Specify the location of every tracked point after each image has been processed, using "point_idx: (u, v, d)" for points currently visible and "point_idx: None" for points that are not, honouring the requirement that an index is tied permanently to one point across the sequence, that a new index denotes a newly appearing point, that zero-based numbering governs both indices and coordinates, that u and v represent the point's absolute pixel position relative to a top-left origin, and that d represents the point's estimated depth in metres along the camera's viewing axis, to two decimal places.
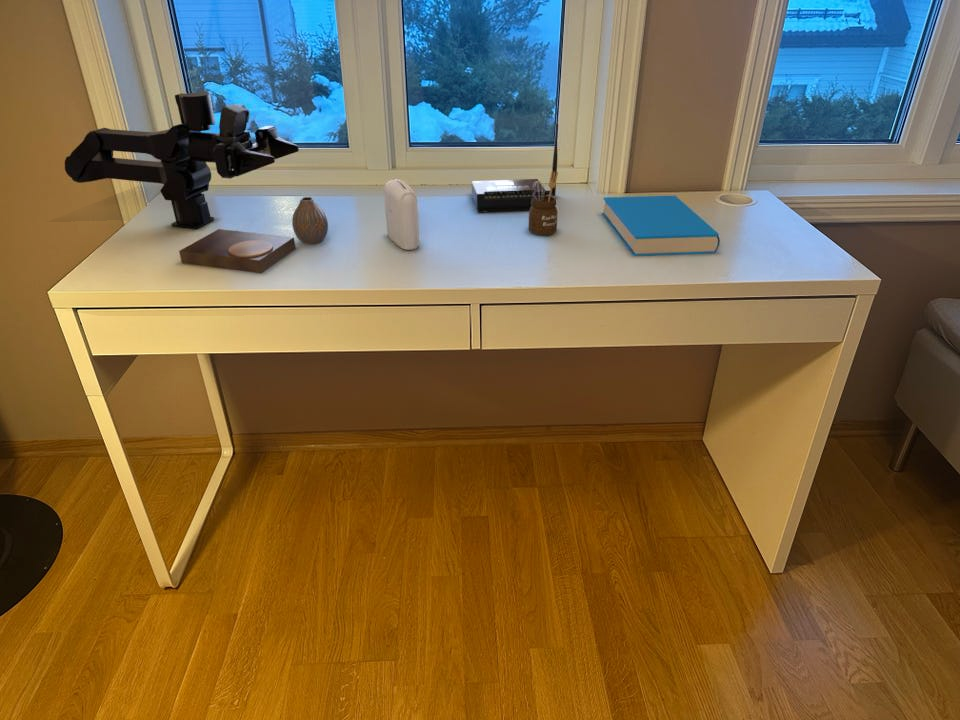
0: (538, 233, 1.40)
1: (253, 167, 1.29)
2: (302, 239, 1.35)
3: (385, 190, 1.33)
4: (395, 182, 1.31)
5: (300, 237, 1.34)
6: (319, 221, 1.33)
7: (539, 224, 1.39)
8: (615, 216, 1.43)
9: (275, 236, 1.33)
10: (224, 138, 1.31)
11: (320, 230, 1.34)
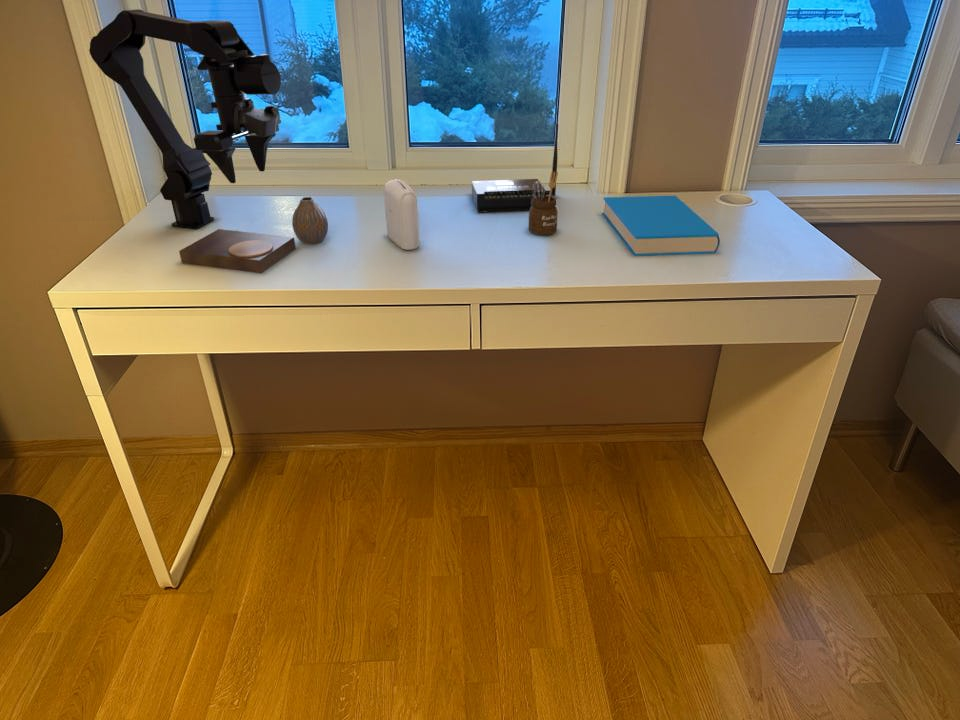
0: (538, 233, 1.40)
1: (217, 164, 1.30)
2: (302, 239, 1.35)
3: (385, 190, 1.33)
4: (395, 182, 1.31)
5: (300, 237, 1.34)
6: (319, 221, 1.33)
7: (539, 224, 1.39)
8: (615, 216, 1.43)
9: (275, 236, 1.33)
10: (237, 121, 1.27)
11: (320, 230, 1.34)
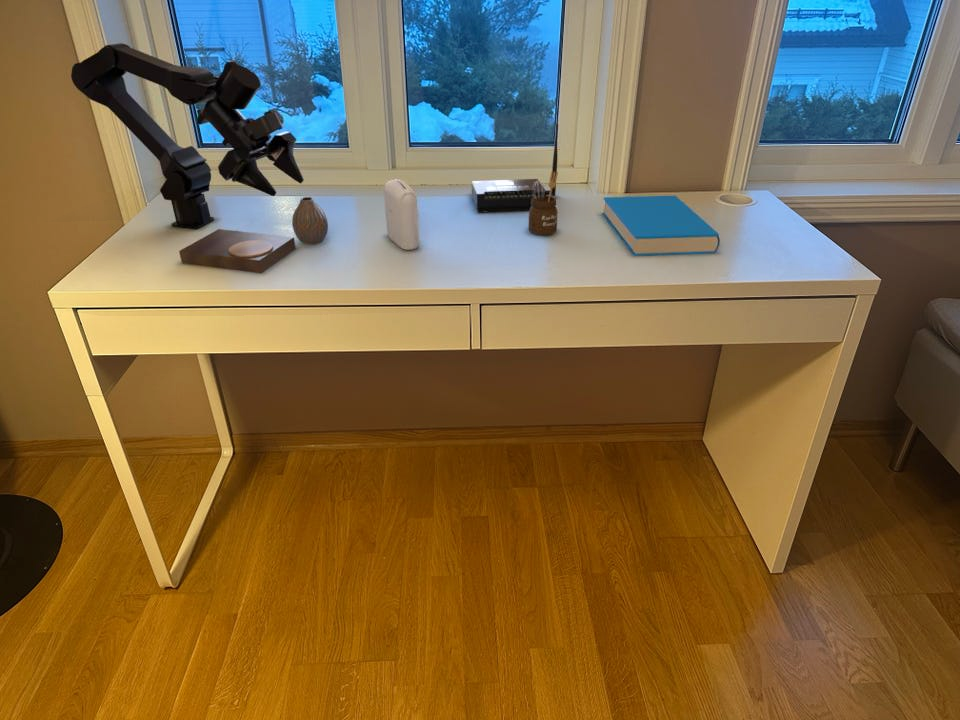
0: (538, 233, 1.40)
1: (252, 185, 1.29)
2: (302, 239, 1.35)
3: (385, 190, 1.33)
4: (395, 182, 1.31)
5: (300, 237, 1.34)
6: (319, 221, 1.33)
7: (539, 224, 1.39)
8: (615, 216, 1.43)
9: (275, 236, 1.33)
10: (245, 136, 1.28)
11: (320, 230, 1.34)
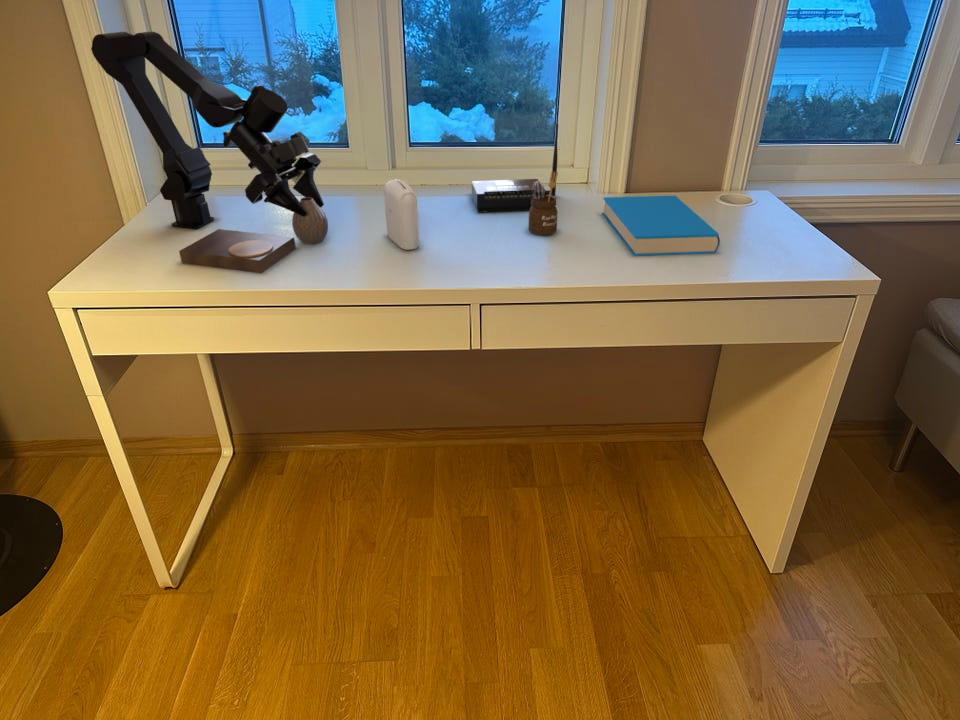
0: (538, 233, 1.40)
1: (284, 205, 1.31)
2: (302, 239, 1.35)
3: (385, 190, 1.33)
4: (395, 182, 1.31)
5: (300, 237, 1.34)
6: (319, 221, 1.33)
7: (539, 224, 1.39)
8: (615, 216, 1.43)
9: (275, 236, 1.33)
10: (271, 159, 1.28)
11: (320, 230, 1.34)
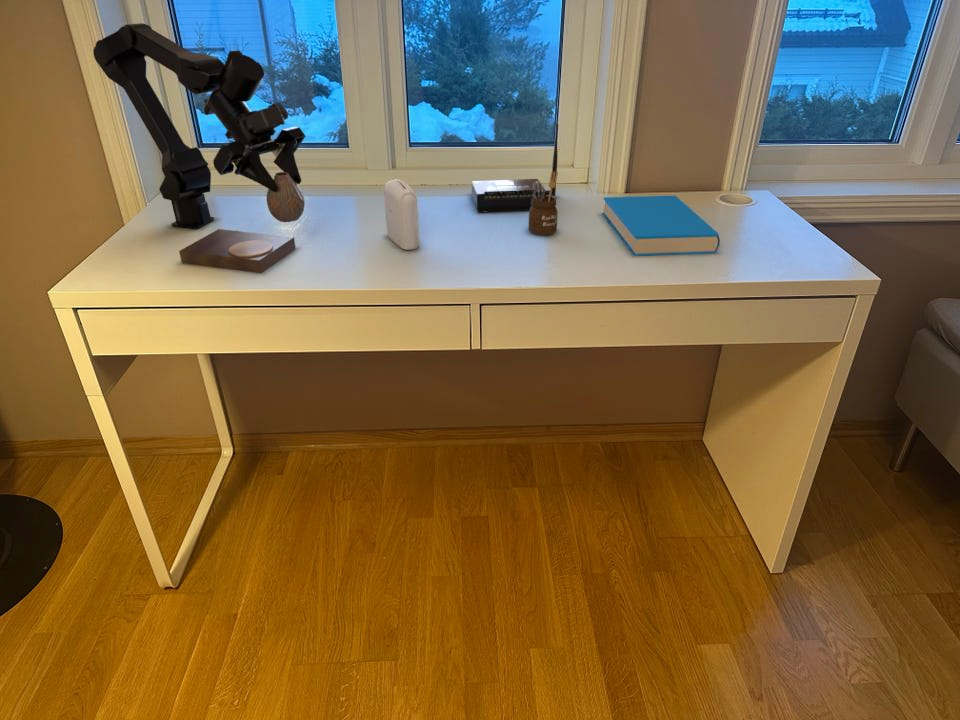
0: (538, 233, 1.40)
1: (255, 179, 1.24)
2: (275, 216, 1.28)
3: (385, 190, 1.33)
4: (395, 182, 1.31)
5: (273, 214, 1.28)
6: (292, 198, 1.26)
7: (539, 224, 1.39)
8: (615, 216, 1.43)
9: (275, 236, 1.33)
10: (244, 129, 1.22)
11: (292, 207, 1.26)
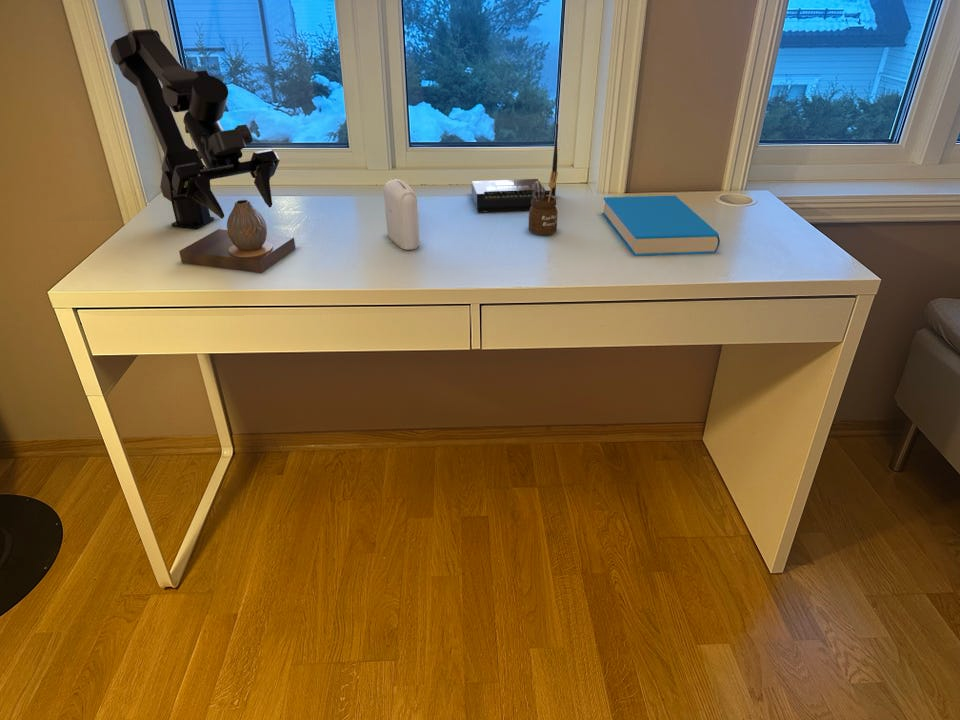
0: (538, 233, 1.40)
1: (204, 204, 1.20)
2: None
3: (385, 190, 1.33)
4: (395, 182, 1.31)
5: (231, 241, 1.25)
6: (248, 228, 1.22)
7: (539, 224, 1.39)
8: (615, 216, 1.43)
9: (275, 236, 1.33)
10: (206, 151, 1.19)
11: (248, 237, 1.22)
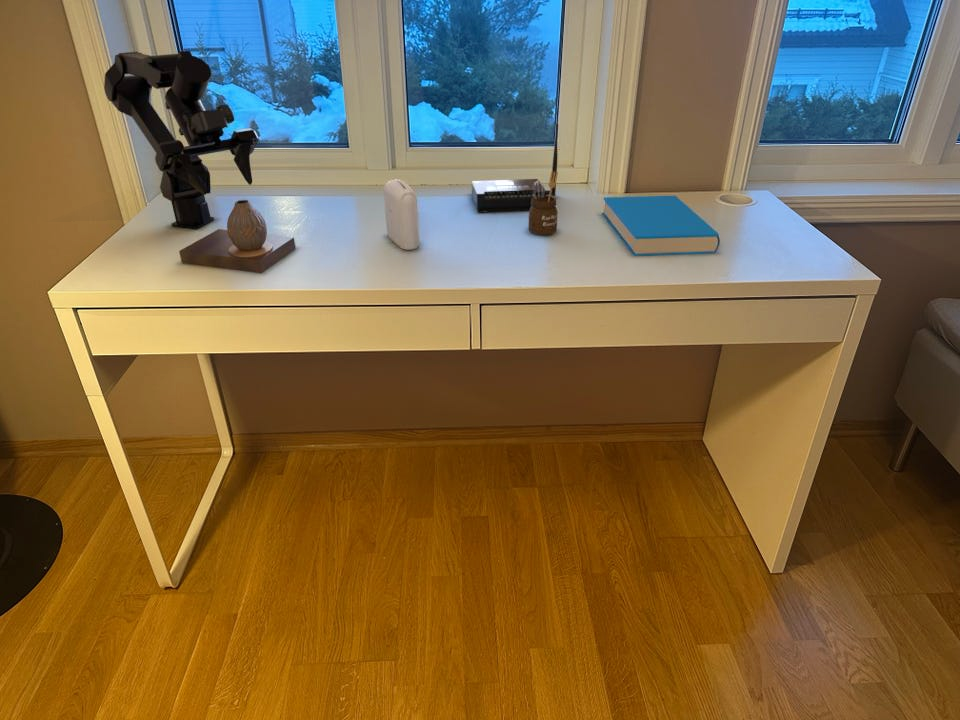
0: (538, 233, 1.40)
1: (187, 180, 1.25)
2: None
3: (385, 190, 1.33)
4: (395, 182, 1.31)
5: (231, 241, 1.25)
6: (248, 228, 1.22)
7: (539, 224, 1.39)
8: (615, 216, 1.43)
9: (275, 236, 1.33)
10: (189, 129, 1.24)
11: (248, 237, 1.22)
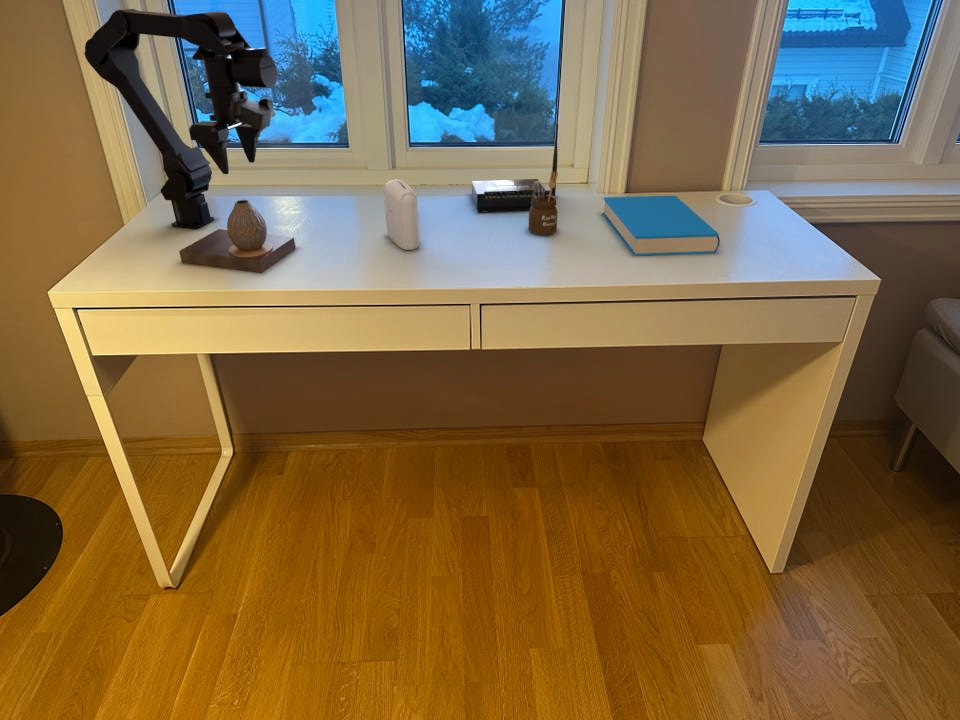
0: (538, 233, 1.40)
1: (211, 154, 1.30)
2: None
3: (385, 190, 1.33)
4: (395, 182, 1.31)
5: (231, 241, 1.25)
6: (248, 228, 1.22)
7: (539, 224, 1.39)
8: (615, 216, 1.43)
9: (275, 236, 1.33)
10: (232, 112, 1.28)
11: (248, 237, 1.22)
